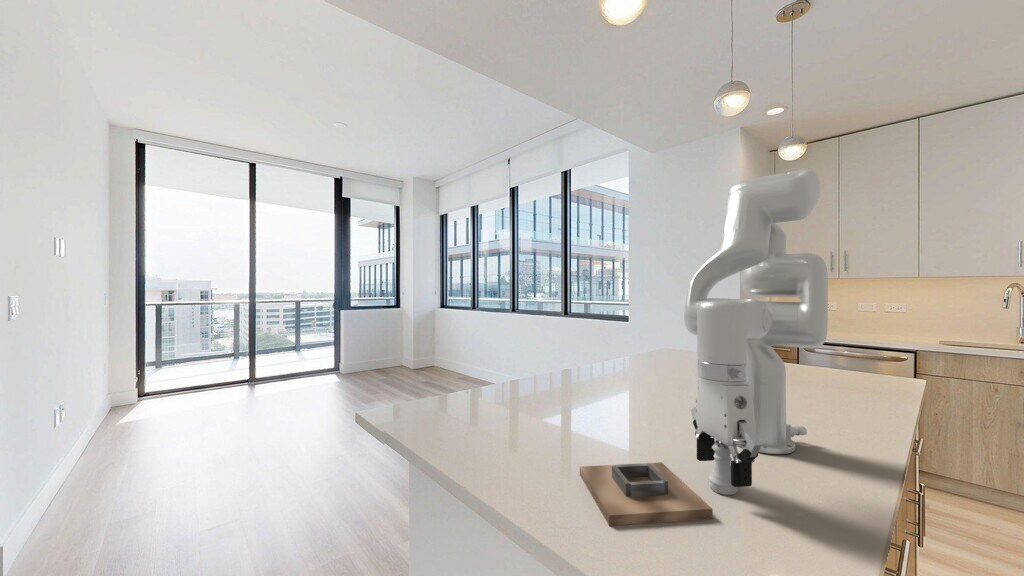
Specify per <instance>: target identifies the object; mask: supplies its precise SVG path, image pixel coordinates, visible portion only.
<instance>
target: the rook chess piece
mask: <svg viewBox="0 0 1024 576" xmlns="http://www.w3.org/2000/svg"><path fill="white" fill-rule="evenodd" d="M712 448H713V450H714V451H715V454H714V458H715V460H714V465H713V471H712V472H711V474H710V475H709V477H708V486H709V488H710V489H711V490H712V491H713V492H715V493H717V494H719V495H724V496H734V495H735V494H736V493H737V492H738V487H734V486H732V485H731V461H733V457H731V455H732V454H731V452H730V449H729V447H728V446H727V445H725V444H723V443H722V442H720V441H718V440H717V439H715V441H714V445H713V446H712Z"/></svg>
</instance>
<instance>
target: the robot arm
mask: <svg viewBox="0 0 1024 576" xmlns="http://www.w3.org/2000/svg"><path fill="white" fill-rule="evenodd" d="M820 194H821V183H820V179H819V176H818V174H817V173H816V172H815V171H814V170H812V169H809V168H808V169H800V170H794V171H788V172H783V173H776V174H770V175H763V176H758V177H753V178H749V179H745V180H742V181H740V182H737V183H734V185H731V187H730V189H729V190H728V195H727V199H726V203H725V210H724V215H723V225H722V230H721V237H720V242H719V243H720V244H719V247H718V250H717V252H715V253H714V254H713V255H711V257H709V258H708V259H707V260H706V261H705V262H704V263H703V264H702V265H701V266H700V267H699V268H698V270H697V271H696V272H695V273H694V275H693V277H692V278H691V280H690V282H689V285H688V290H687V294H686V295H687V296H686V300H685V305H684V315H683V317H684V324H685V325H684V326H685V327H686V329H687V331H688V332H689V333H690V334H691V335H693V336H696V339H697V341H696V342H697V343H696V345H697V349H696V351H697V353H696V354H697V356H696V357H697V384H696V394H695V397H696V398H695V407H693V408H691V409H690V413H691V417H692V420H693V421H692V425H693V426H694V430H695V432H694V436H695V438H696V459H697V460H698V461H699V462H712V461H713V462H714V461H715V458H714V454H715V451H714V450H713V448H712V446H713V445H714V441H716V440H718V441H719V443H721V442H722V443H723V444H725V445H727V446H728V447H729V449H730V452H731V454H730V455H731V456H732V460H731V461H730V463H731V485H732V486H734V487H736V488H743V487H747V488H749V487H751V486H752V485H753V468H752V465H753V464H752V463H755V459H757V458H758V457H759V453H761V454H762V453H764V454H768V455H787V454H791V453H793V452H795V450H796V442H794V441H793V440H792V438H793V437H794V436H799V437H800V436H806V435H807V433H808V430H807V428H806V427H805V426H802V425H800V426H798V425H797V426H792V425H791V424H790V423H787V370H786V365H785V362H784V361H783V359H782V358H781V356H780V355H779V354H778V353H777V352H776V351H775V349H774V348H773V346H774V347H779V346H780V347H788V348H790V347H791V348H805V349H815V348H819V347H822V346H823V345H824V344H825V342H826V340H827V336H828V329H829V328H828V326H829V325H828V320H829V319H828V318H829V317H828V316H829V313H828V312H829V309H828V308H829V275H828V267H827V264H826V261H825V259H823V257H822V256H820V255H819V254H816V253H809V252H798V253H786V250H787V249H786V248H787V247H786V246H787V236H786V233H785V231H784V230H783V229H782V228H781V227H780V226H779V225H778V224H777V223H784V222H785V223H786V222H788V223H789V222H797V221H801V220H804V219H806V218H808V216H810V214H811V213H812V212H813V210H814V208H815V206H816V205H817V203H818V201H819V198H820ZM738 273H740V286H741V289H742V291H743V292H744V293H745V294H747V295H749V296H752V297H760V298H763V297H764V298H797V299H799V300H800V301H769V300H768V301H763V300H761V301H760V300H756V299H752V298H718V297H717V298H713V297H712V298H711V297H710V298H709V297H708V295H709V293H710V291H711V290H712V289H713V288H714V287H715V286H716V285H717V284H719V283H720V282H721V281H723V280H725V279H727V278H728V277H731V276H733V275H736V274H738ZM738 448H742V451H740V452H739V450H738Z"/></svg>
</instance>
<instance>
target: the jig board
mask: <svg viewBox="0 0 1024 576" xmlns="http://www.w3.org/2000/svg"><path fill="white" fill-rule="evenodd" d="M579 476H580V478H581V480H582V481H583V483H584V484H585V486H586V489H587V490H588V492H589V493H590V495H591V496H592V499H593V500H594V502H595V503H596V505H597V507H598V509H599V510H600V512H601V514H602V515H603V518H604V519H605V521H606V523H607V525H608V526H609V527H610V526H611V527H612V526H625V525H626V526H627V525H641V524H655V523H670V522H682V521H683V522H684V521H685V522H686V521H699V520H700V521H701V520H713V518H714V517H713V516H714V515H713V508H712V506H710V505H709V504H708V503H707V502H706V501H705V500H704V499H702V497H700V496H699V495H698V494H697V493H696V492H695V491H694V490H693V489H691V487H689V486H688V485H687V484H686V483H685V482H684V481H683V480H681V479H680V477H679V476H677V475H676V474H675V473H674V472H673V471H672V470H671V469H670V468H668V467H667V465H665V464H664V463H663V462H661V461H660V462H644V463H641V462H640V463H623V464H620V463H619V464H605V465H602V464H601V465H586V466H585V465H584V466H579Z"/></svg>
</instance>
